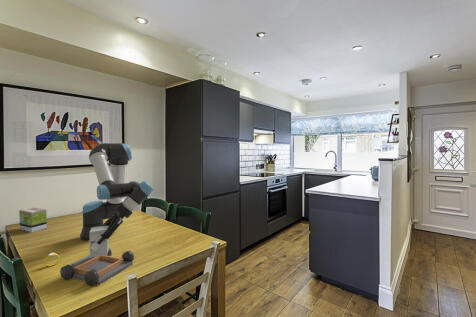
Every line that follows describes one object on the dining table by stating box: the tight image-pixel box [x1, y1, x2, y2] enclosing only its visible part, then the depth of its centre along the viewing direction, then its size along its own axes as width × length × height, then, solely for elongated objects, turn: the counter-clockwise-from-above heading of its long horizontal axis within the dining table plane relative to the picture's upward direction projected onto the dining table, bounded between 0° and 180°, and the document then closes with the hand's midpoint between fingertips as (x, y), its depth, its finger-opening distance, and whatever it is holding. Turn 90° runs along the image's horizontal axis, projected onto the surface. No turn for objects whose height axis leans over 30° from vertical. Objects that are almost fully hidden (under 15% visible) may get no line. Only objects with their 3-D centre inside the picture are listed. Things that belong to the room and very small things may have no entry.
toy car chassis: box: [59, 247, 135, 287], centre depth 112 cm, size 22×22×6 cm
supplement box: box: [89, 226, 110, 258], centre depth 111 cm, size 7×7×13 cm
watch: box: [44, 252, 61, 268], centre depth 117 cm, size 6×3×6 cm, turn 133°
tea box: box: [18, 207, 48, 233], centre depth 170 cm, size 15×10×15 cm
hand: (91, 246), depth 109 cm, fingers closed on supplement box, 8 cm apart
